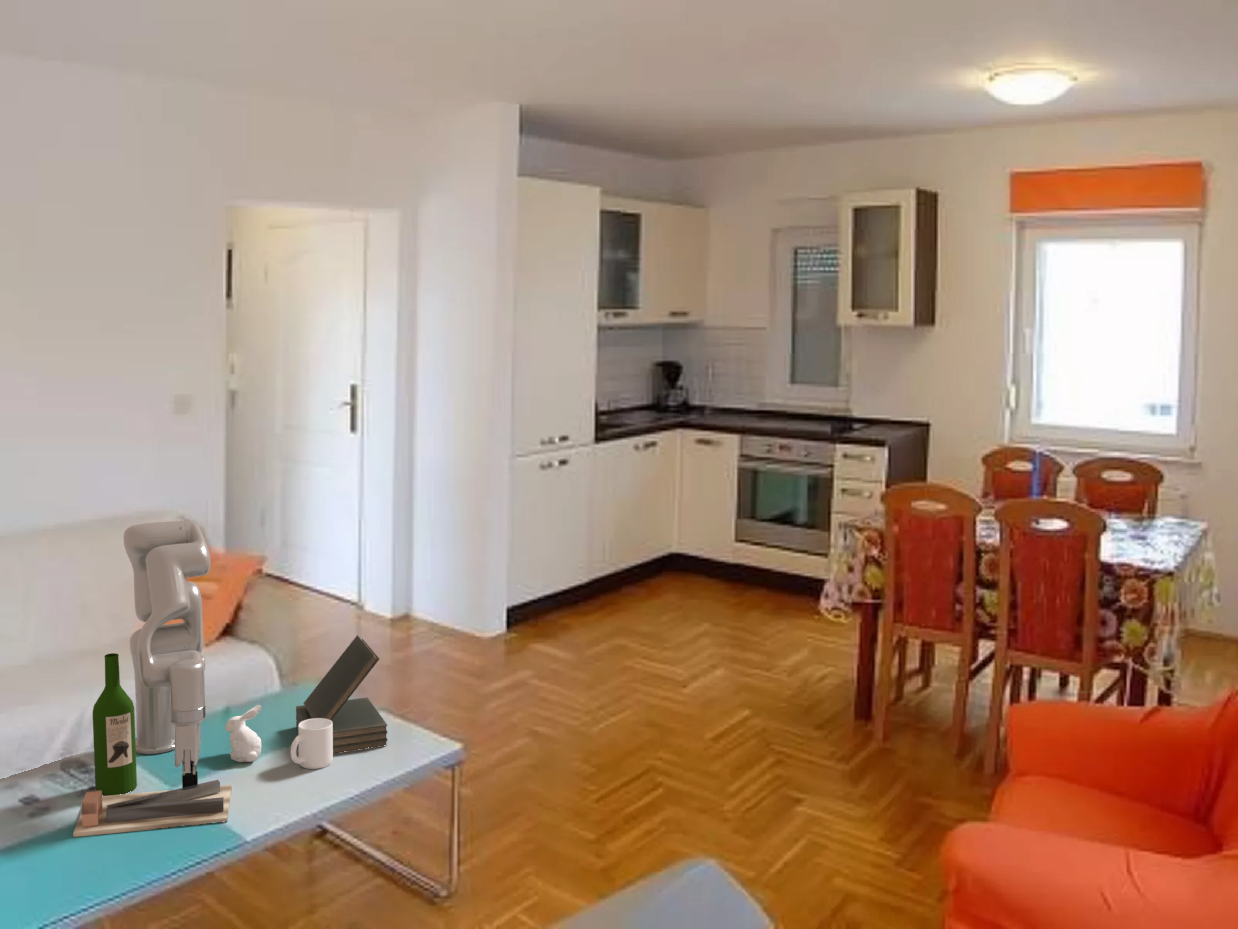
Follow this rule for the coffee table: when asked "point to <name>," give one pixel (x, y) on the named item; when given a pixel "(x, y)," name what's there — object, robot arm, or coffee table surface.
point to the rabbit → (244, 737)
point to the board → (152, 821)
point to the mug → (314, 743)
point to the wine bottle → (114, 735)
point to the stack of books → (347, 701)
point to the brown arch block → (91, 808)
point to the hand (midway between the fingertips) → (190, 789)
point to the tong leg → (174, 795)
